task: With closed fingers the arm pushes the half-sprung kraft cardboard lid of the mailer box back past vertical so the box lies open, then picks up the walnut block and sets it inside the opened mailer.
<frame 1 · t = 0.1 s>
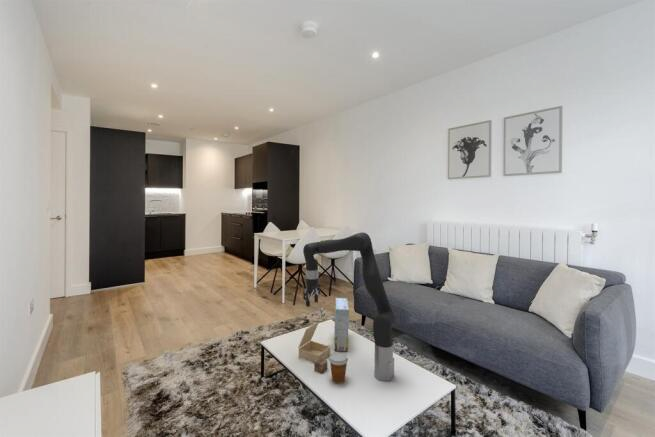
hand: (312, 304, 178), 29 cm above the table, fingers open, 8 cm apart
snack box: (341, 343, 191), on the table
disposable coffee cup: (338, 379, 153), on the table
mailer lid: (308, 334, 177), point 12 cm above the table, hinge at 65.0°
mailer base: (314, 356, 176), on the table
walnut block: (320, 370, 161), on the table
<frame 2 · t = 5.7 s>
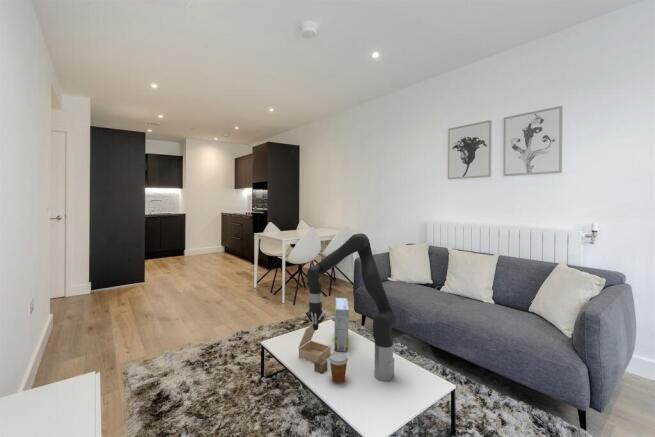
hand: (315, 329, 174), 16 cm above the table, fingers closed
mailer lid: (308, 334, 177), point 12 cm above the table, hinge at 65.4°, touching gripper
everything else where it was.
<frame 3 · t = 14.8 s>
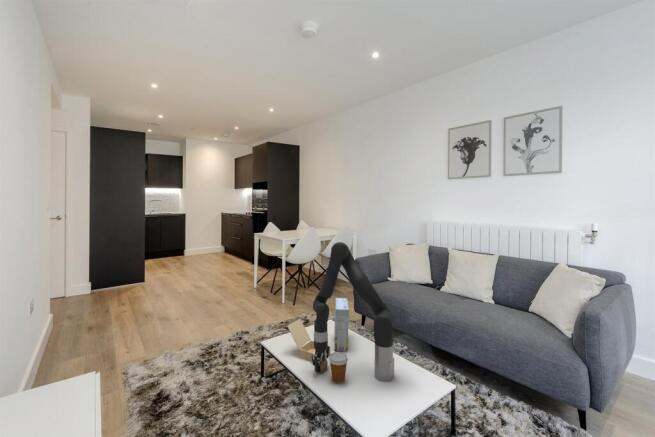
hand: (320, 369, 161), 0 cm above the table, fingers closed on walnut block, 5 cm apart
mailer lid: (299, 332, 181), point 11 cm above the table, hinge at 125.6°
walnut block: (320, 370, 161), on the table, touching gripper
everything else where it was.
when the fingers open (3 cm above the table, at t = 20.5 s): walnut block drops 2 cm, resting on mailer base.
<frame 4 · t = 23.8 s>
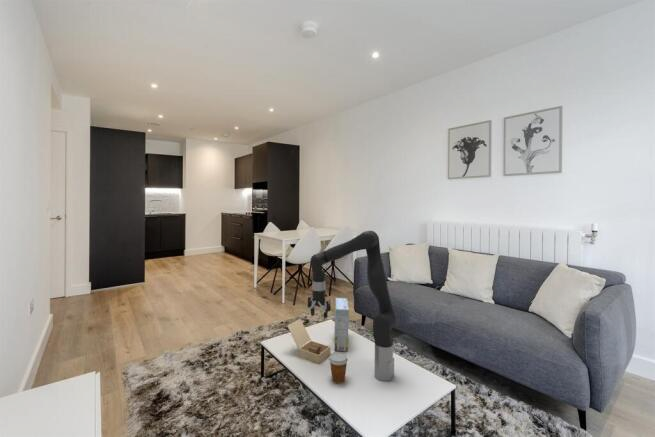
hand: (318, 316, 172), 24 cm above the table, fingers open, 8 cm apart
walnut block: (314, 355, 176), resting on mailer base
everything else where it was.
at the end: mailer lid at +126° (first picture: +65°); walnut block inside the target area on the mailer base (0.1 cm from its centre), point 0.5 cm above the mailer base's base; the gripper is holding nothing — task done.
